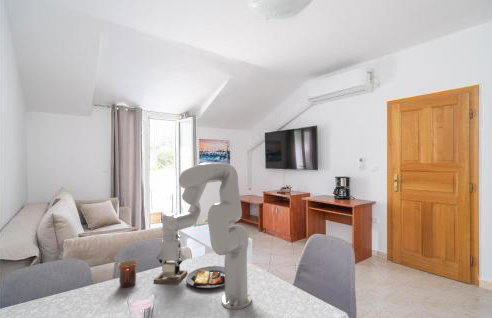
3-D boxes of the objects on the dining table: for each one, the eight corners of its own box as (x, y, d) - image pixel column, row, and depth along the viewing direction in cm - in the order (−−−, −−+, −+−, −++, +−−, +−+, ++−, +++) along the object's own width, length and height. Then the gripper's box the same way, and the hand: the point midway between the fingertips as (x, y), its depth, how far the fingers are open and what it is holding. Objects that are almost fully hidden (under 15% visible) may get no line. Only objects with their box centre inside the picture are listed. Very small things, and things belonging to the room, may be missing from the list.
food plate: (232, 291, 116) (232, 283, 116) (181, 292, 117) (181, 284, 117) (235, 270, 141) (235, 263, 141) (193, 271, 142) (193, 264, 142)
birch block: (173, 277, 128) (173, 265, 128) (162, 277, 129) (162, 265, 130) (179, 272, 134) (178, 261, 134) (168, 271, 135) (168, 260, 135)
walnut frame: (177, 284, 125) (177, 281, 125) (153, 282, 127) (153, 279, 127) (187, 273, 137) (187, 270, 137) (165, 272, 139) (165, 269, 139)
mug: (118, 282, 128) (118, 261, 128) (137, 279, 131) (137, 259, 131) (116, 293, 117) (116, 271, 117) (137, 289, 120) (136, 267, 120)
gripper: (189, 235, 134) (189, 270, 134) (158, 235, 137) (159, 268, 137) (183, 240, 127) (183, 277, 127) (151, 239, 130) (151, 275, 130)
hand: (171, 272), depth 132 cm, fingers closed on birch block, 6 cm apart
